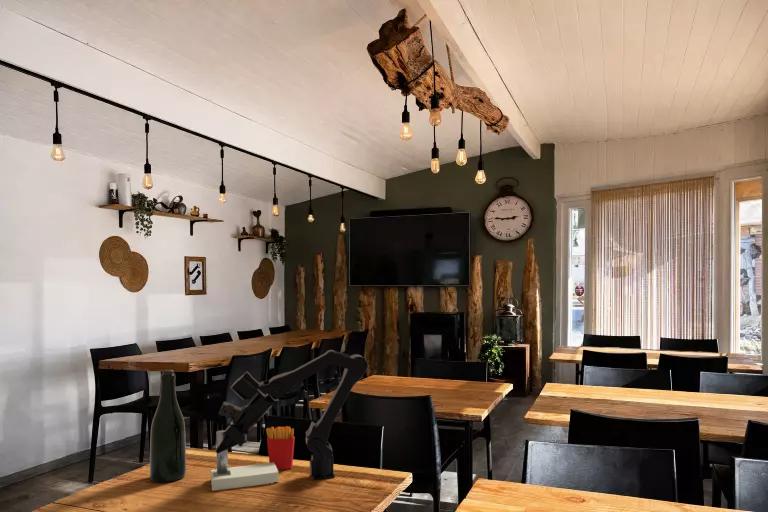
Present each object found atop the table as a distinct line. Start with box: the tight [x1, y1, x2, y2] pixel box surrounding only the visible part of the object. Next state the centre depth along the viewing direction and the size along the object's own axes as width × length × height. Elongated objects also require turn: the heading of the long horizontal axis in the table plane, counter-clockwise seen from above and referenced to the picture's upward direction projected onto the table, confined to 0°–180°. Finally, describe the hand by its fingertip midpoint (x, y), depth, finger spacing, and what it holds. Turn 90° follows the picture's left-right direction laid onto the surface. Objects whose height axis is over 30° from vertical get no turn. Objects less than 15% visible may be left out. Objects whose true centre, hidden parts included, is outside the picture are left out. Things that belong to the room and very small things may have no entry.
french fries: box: [265, 425, 296, 470], centre depth 184 cm, size 9×4×13 cm, turn 85°
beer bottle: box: [149, 369, 187, 483], centre depth 177 cm, size 10×10×33 cm
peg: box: [215, 429, 229, 474], centre depth 170 cm, size 3×3×12 cm
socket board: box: [210, 462, 280, 491], centre depth 172 cm, size 19×10×3 cm, turn 108°
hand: (217, 450), depth 170 cm, fingers closed on peg, 3 cm apart
